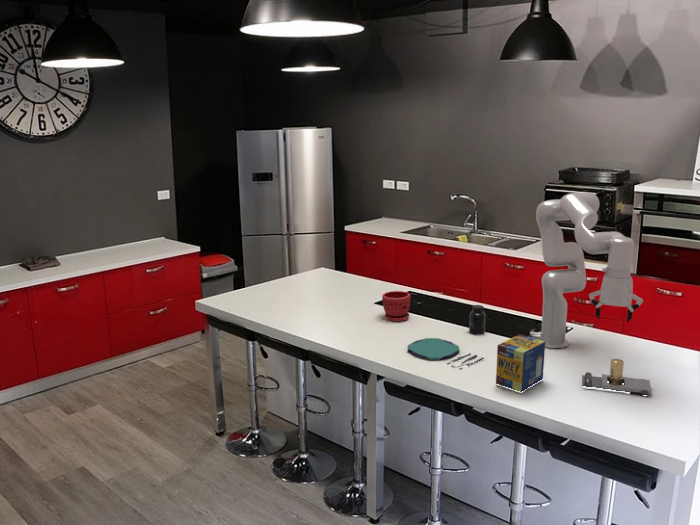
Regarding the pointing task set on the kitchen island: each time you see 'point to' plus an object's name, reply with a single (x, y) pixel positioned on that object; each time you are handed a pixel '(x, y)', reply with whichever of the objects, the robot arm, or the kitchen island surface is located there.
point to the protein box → (520, 362)
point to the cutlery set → (436, 349)
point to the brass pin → (616, 371)
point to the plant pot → (396, 305)
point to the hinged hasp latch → (629, 384)
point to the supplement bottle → (477, 320)
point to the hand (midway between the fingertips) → (612, 319)
